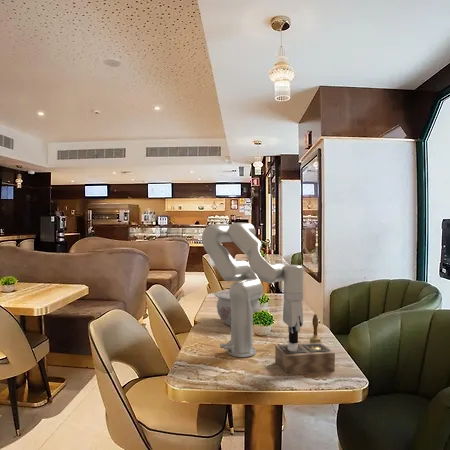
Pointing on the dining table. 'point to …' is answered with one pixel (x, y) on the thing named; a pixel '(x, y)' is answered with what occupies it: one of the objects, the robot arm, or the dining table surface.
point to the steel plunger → (292, 347)
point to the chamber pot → (225, 305)
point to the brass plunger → (315, 348)
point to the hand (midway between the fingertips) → (293, 342)
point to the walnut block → (305, 359)
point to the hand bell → (315, 331)
